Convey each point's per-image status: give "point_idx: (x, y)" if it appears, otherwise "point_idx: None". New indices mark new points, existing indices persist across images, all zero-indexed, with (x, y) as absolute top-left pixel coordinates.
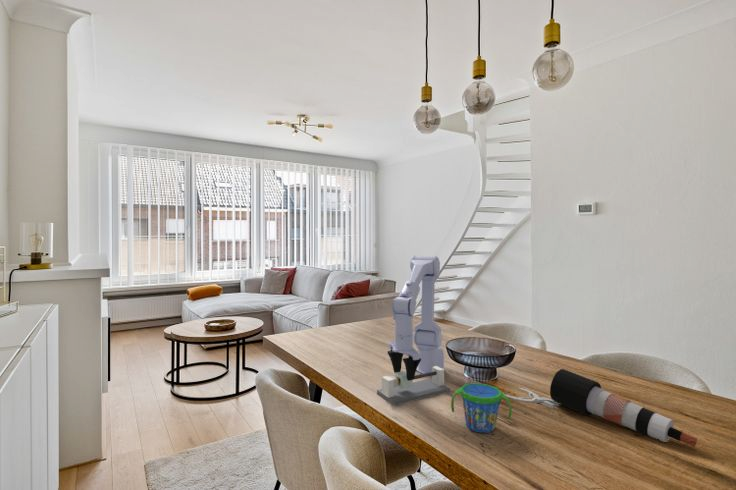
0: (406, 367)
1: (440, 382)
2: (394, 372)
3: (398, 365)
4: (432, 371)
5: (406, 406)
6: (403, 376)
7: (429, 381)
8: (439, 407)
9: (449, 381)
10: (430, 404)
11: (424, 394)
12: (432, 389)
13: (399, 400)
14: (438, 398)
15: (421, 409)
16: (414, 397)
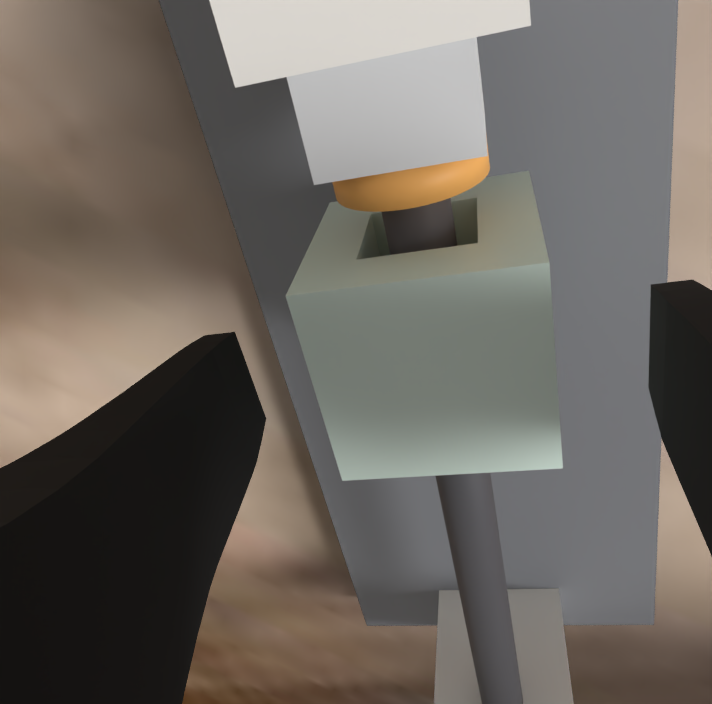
0: (49, 465)
1: (439, 627)
2: (682, 282)
3: (693, 448)
4: (563, 700)
5: (119, 112)
6: (298, 322)
7: (588, 581)
8: (77, 395)
9: (572, 686)
10: (145, 361)
11: (293, 404)
12: (383, 514)
13: (183, 63)
14: (261, 473)
15: (38, 235)
16: (259, 285)
